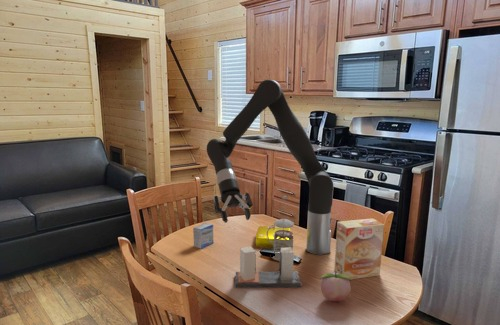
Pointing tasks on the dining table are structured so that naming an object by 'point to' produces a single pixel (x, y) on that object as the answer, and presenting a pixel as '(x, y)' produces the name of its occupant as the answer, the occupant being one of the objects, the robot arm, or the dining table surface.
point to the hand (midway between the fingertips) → (237, 220)
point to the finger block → (247, 263)
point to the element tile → (262, 236)
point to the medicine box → (203, 235)
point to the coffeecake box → (359, 248)
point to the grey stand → (274, 274)
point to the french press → (282, 235)
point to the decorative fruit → (335, 286)
